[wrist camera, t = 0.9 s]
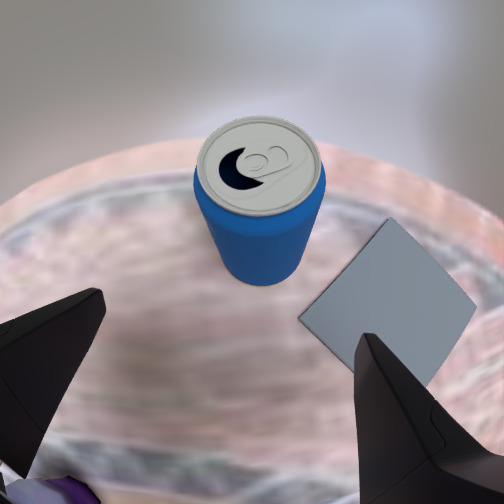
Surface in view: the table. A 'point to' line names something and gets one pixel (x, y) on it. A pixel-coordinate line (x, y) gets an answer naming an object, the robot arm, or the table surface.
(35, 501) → the potion bottle
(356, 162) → the table surface
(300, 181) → the beverage can
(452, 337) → the mat
